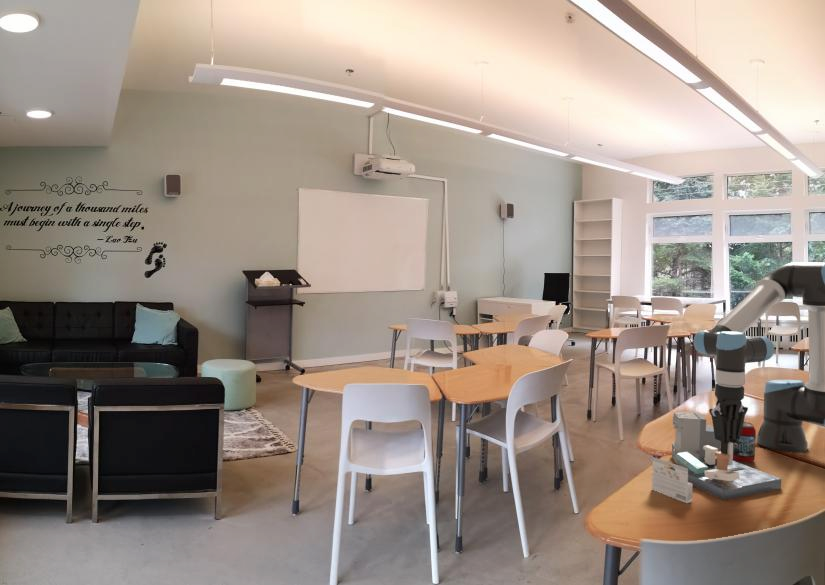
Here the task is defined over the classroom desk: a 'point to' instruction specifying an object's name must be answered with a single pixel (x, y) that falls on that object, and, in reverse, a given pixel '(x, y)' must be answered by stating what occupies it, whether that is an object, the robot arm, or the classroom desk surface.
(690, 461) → the rocker teal
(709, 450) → the slider ivory
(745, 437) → the beverage can
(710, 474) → the rocker ivory
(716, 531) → the classroom desk surface
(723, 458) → the slider rust
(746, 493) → the panel
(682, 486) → the ink cartridge box
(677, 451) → the circuit breaker
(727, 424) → the robot arm
